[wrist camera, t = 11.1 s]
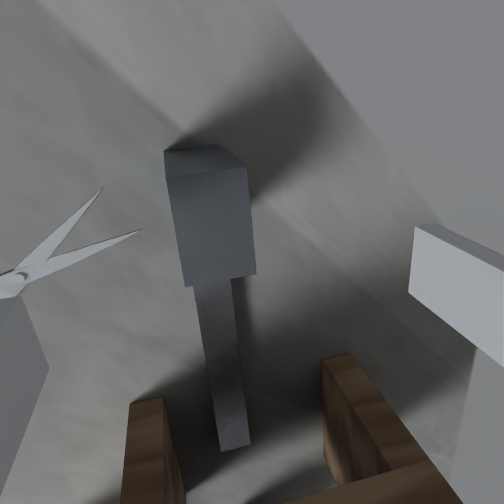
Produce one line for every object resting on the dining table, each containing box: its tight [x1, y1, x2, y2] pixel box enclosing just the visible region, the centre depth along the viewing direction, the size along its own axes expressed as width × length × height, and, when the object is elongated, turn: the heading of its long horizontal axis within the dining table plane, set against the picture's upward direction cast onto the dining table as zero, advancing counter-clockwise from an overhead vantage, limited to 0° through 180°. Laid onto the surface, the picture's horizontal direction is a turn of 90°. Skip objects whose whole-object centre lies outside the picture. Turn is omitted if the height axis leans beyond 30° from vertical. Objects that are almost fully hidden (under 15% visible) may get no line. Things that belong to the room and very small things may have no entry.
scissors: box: [0, 189, 140, 299], centre depth 28 cm, size 11×1×20 cm
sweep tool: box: [163, 145, 256, 452], centre depth 28 cm, size 29×4×10 cm, turn 5°
